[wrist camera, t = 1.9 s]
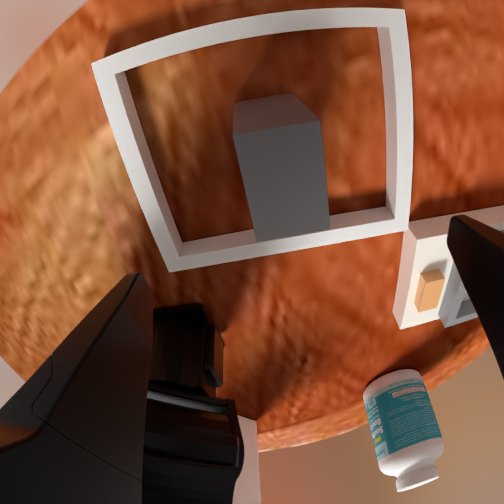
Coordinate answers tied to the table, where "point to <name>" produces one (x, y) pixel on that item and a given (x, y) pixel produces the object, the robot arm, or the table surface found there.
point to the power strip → (435, 272)
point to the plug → (281, 166)
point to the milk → (248, 466)
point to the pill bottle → (404, 428)
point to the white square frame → (244, 242)
